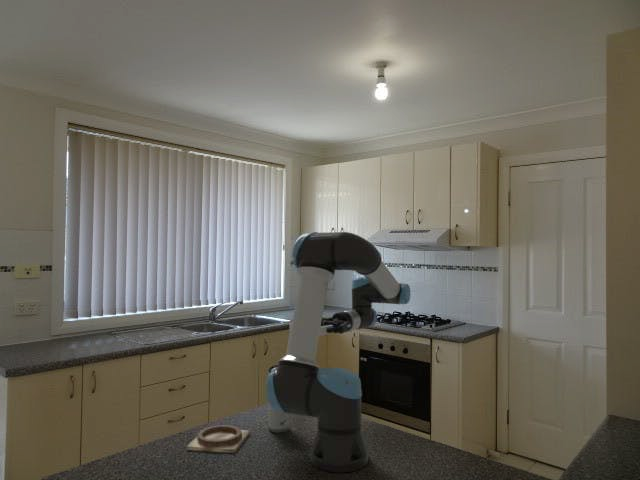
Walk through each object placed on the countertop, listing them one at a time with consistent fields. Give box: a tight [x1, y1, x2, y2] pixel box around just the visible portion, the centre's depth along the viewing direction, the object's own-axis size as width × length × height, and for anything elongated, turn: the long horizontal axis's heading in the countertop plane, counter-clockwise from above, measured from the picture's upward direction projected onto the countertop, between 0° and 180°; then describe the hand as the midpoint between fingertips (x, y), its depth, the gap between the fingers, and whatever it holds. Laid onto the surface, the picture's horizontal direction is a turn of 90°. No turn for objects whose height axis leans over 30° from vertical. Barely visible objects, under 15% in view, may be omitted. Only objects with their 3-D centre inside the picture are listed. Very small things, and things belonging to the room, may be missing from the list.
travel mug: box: [268, 364, 290, 434], centre depth 148 cm, size 6×7×20 cm
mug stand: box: [186, 424, 251, 454], centre depth 138 cm, size 14×14×2 cm
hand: (303, 329), depth 157 cm, fingers open, 13 cm apart
